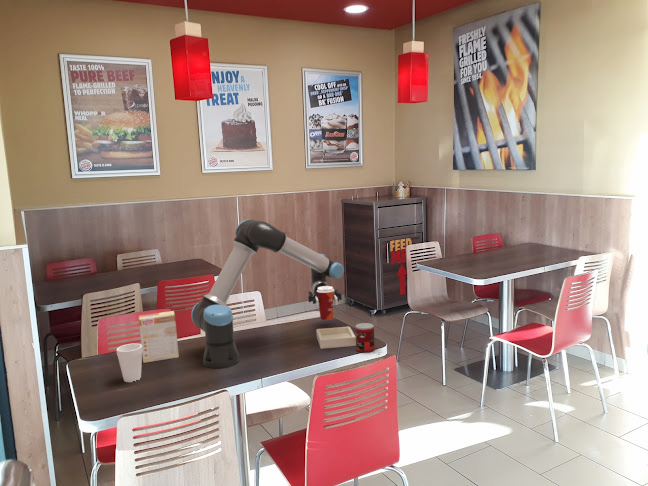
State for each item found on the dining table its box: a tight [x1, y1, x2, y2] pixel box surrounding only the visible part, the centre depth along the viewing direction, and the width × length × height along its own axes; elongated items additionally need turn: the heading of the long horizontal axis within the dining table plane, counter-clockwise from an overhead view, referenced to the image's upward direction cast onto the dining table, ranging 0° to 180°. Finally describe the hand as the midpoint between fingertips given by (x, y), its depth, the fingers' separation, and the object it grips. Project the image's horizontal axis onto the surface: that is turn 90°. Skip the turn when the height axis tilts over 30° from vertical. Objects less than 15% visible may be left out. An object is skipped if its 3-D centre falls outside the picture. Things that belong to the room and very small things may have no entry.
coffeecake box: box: [138, 310, 180, 363], centre depth 230 cm, size 15×7×20 cm, turn 110°
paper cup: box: [317, 285, 335, 321], centre depth 234 cm, size 8×8×14 cm
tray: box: [315, 326, 356, 350], centre depth 243 cm, size 16×16×4 cm
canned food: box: [355, 322, 375, 354], centre depth 230 cm, size 8×8×11 cm
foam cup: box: [116, 342, 143, 383], centre depth 208 cm, size 10×9×13 cm
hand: (327, 302), depth 229 cm, fingers closed on paper cup, 8 cm apart
